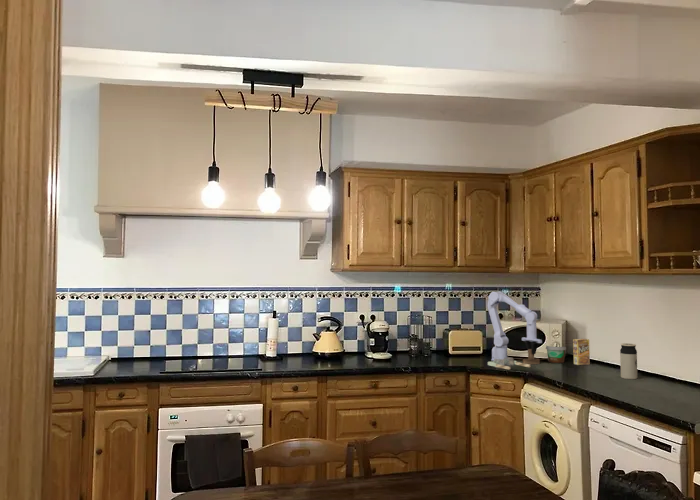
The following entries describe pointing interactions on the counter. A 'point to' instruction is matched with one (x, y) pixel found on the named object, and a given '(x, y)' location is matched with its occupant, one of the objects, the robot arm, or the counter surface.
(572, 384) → the counter surface
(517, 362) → the slot rails
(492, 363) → the tray
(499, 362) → the light grey cube
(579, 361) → the candy box
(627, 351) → the travel mug
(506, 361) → the gray cube
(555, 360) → the food container
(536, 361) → the l-shaped wooden block
